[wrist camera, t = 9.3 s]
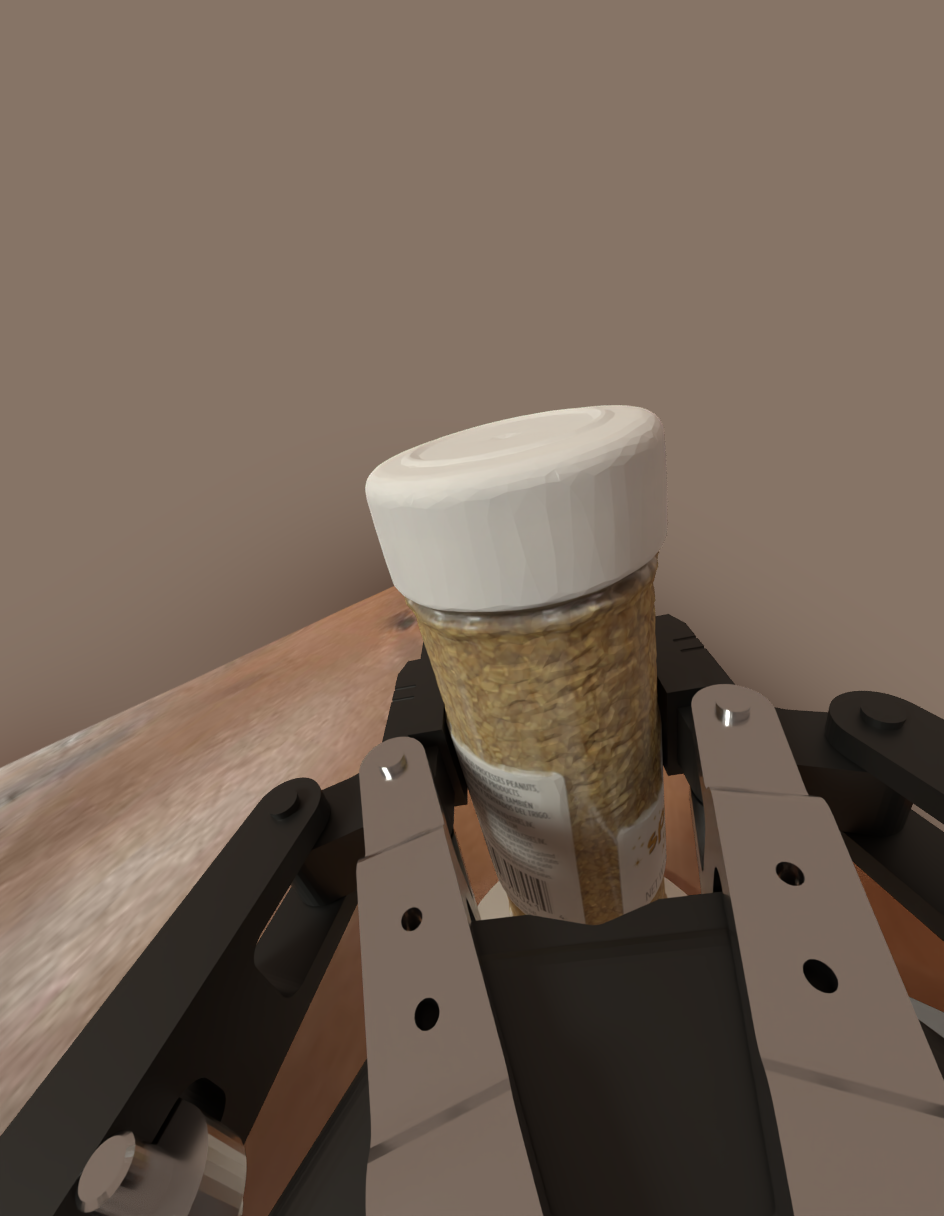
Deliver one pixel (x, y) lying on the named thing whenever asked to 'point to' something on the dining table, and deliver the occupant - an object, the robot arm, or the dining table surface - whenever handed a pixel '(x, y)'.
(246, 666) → the dining table surface
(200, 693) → the dining table surface
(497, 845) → the sprinkles bottle
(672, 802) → the dining table surface
